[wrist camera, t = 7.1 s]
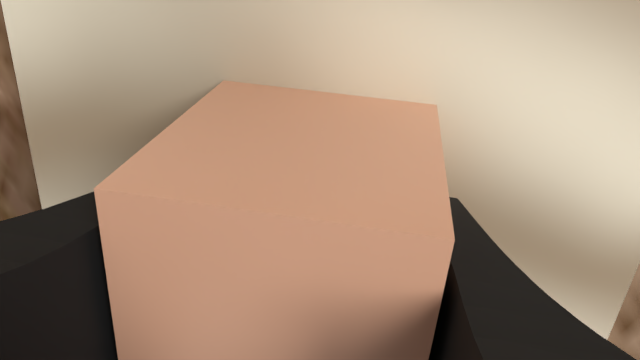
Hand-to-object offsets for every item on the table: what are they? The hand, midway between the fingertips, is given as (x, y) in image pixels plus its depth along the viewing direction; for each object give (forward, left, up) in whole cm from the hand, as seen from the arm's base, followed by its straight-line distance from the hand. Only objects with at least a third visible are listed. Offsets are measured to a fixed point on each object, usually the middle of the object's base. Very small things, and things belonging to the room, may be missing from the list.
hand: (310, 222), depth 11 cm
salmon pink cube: (0, 0, -1) cm, 1 cm away
